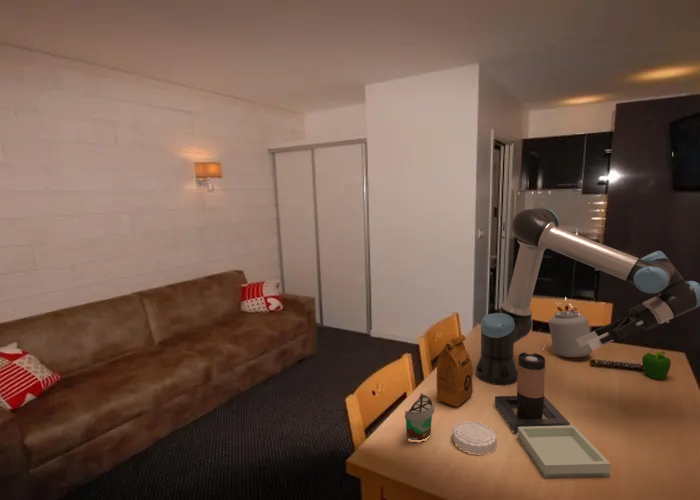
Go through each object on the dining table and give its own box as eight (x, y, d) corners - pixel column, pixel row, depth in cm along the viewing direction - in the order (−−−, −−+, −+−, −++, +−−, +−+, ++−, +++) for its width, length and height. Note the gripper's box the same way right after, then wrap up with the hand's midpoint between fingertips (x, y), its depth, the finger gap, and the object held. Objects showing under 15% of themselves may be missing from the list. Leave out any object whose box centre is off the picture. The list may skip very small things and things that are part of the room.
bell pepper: (643, 379, 143) (645, 353, 142) (639, 370, 150) (641, 345, 149) (672, 383, 139) (674, 357, 138) (666, 374, 146) (668, 349, 145)
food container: (425, 451, 107) (425, 417, 106) (405, 444, 111) (404, 411, 109) (440, 428, 118) (440, 397, 116) (421, 422, 121) (421, 392, 120)
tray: (517, 438, 112) (517, 426, 111) (573, 436, 111) (573, 425, 111) (544, 478, 96) (545, 465, 95) (609, 476, 96) (610, 463, 95)
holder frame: (494, 404, 129) (494, 396, 129) (542, 403, 129) (543, 395, 129) (514, 433, 114) (514, 424, 113) (569, 432, 113) (569, 423, 113)
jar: (536, 351, 171) (538, 296, 168) (555, 343, 179) (558, 290, 175) (580, 366, 155) (583, 305, 152) (599, 357, 163) (602, 299, 159)
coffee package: (477, 397, 134) (478, 336, 131) (457, 411, 126) (457, 347, 123) (452, 387, 142) (453, 329, 139) (432, 400, 134) (432, 339, 131)
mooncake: (443, 438, 113) (443, 427, 113) (473, 425, 119) (473, 414, 118) (475, 462, 103) (475, 449, 102) (506, 446, 108) (506, 435, 108)
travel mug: (532, 427, 116) (534, 364, 114) (510, 415, 123) (512, 355, 120) (548, 420, 120) (551, 358, 117) (527, 408, 127) (529, 350, 124)
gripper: (677, 326, 107) (603, 359, 111) (641, 324, 130) (580, 352, 134) (659, 301, 109) (587, 335, 113) (626, 304, 132) (567, 332, 136)
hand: (583, 344), depth 124 cm, fingers open, 13 cm apart
